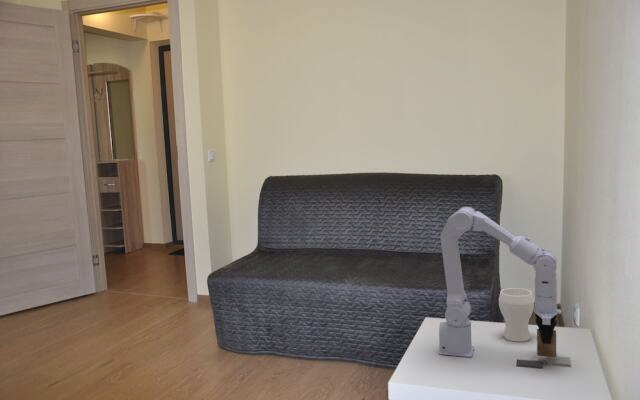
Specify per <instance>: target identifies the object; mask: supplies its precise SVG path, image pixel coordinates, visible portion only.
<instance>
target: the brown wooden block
mask: <svg viewBox="0 0 640 400" xmlns="http://www.w3.org/2000/svg"><path fill="white" fill-rule="evenodd" d="M536 356H537V357H546V358H547V357H556V356H557V331H556V329H554V330H553V334H552V339H551V343H550V344H544V343H542V340H541V335H540V330H539V328H536Z"/></svg>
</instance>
